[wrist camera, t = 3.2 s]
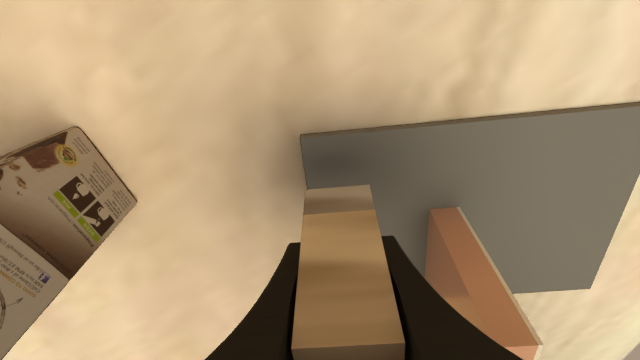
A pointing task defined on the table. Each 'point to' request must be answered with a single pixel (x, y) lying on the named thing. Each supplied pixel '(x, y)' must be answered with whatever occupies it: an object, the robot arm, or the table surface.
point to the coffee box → (51, 223)
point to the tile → (475, 283)
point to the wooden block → (344, 281)
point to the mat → (497, 185)
